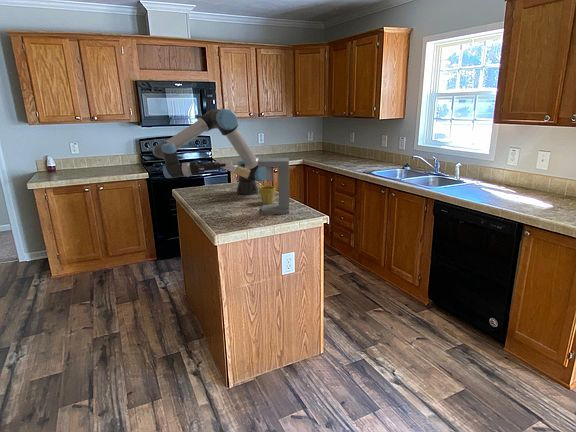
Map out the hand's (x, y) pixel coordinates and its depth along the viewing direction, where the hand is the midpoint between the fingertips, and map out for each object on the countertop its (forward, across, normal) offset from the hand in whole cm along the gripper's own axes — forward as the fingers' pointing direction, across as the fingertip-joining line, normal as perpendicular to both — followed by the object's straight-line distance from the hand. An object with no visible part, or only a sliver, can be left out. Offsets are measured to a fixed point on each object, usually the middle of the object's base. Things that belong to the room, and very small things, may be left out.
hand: (231, 163), depth 213 cm
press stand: (+20, +1, -31) cm, 37 cm away
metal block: (-2, 0, -4) cm, 4 cm away
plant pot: (+15, -18, -30) cm, 39 cm away
